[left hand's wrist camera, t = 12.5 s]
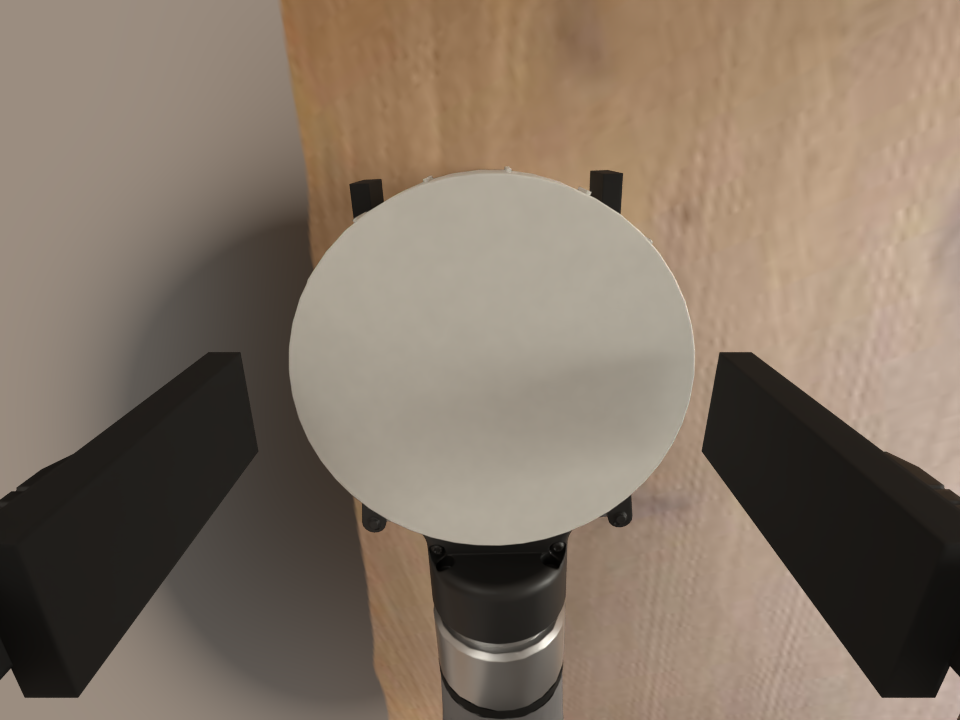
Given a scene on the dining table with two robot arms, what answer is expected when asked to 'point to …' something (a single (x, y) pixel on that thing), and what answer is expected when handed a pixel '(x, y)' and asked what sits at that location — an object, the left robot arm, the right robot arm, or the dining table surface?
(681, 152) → the dining table surface
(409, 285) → the lid
